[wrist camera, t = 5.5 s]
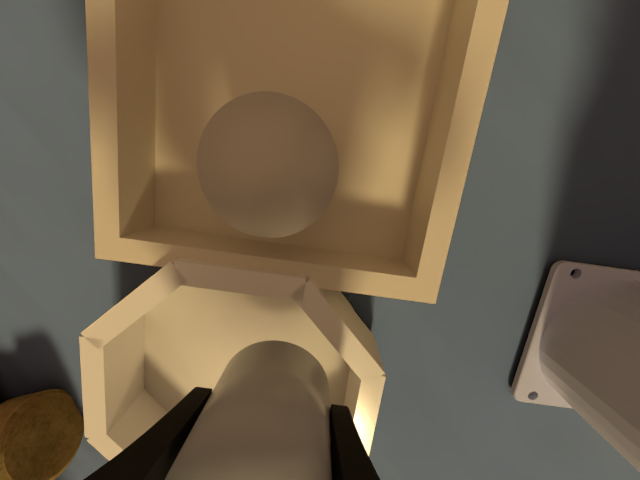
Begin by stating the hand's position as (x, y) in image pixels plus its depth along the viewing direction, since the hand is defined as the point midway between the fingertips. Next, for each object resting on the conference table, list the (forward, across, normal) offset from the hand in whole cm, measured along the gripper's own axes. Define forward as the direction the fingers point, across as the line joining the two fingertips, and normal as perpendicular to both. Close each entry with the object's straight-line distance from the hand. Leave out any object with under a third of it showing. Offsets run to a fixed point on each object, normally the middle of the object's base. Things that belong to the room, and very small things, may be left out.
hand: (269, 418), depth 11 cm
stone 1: (+5, +1, -9) cm, 10 cm away
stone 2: (+1, 0, 0) cm, 1 cm away
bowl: (+5, +2, +2) cm, 6 cm away
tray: (+5, +1, -12) cm, 13 cm away
